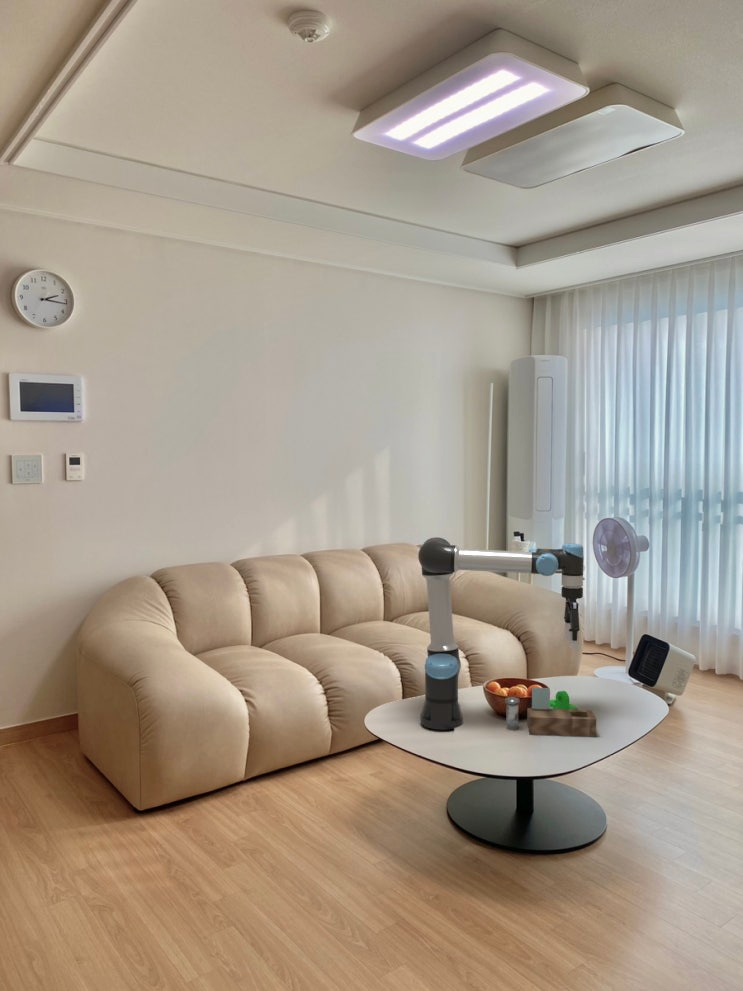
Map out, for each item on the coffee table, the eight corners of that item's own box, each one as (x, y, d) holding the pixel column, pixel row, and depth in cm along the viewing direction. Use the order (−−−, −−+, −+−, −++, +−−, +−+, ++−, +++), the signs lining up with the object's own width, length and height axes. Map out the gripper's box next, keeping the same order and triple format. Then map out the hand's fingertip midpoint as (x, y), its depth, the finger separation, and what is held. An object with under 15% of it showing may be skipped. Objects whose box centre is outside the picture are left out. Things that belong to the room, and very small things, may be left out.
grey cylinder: (505, 730, 272) (505, 701, 271) (504, 725, 277) (505, 696, 276) (519, 730, 271) (519, 701, 271) (518, 725, 276) (518, 697, 276)
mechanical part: (578, 713, 291) (578, 691, 291) (564, 715, 289) (564, 693, 288) (558, 704, 302) (558, 683, 302) (545, 705, 300) (545, 685, 299)
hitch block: (529, 734, 268) (529, 717, 267) (527, 724, 277) (527, 708, 277) (596, 737, 265) (596, 719, 265) (591, 727, 275) (591, 710, 275)
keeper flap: (531, 709, 275) (531, 687, 275) (531, 709, 276) (531, 687, 276) (550, 710, 274) (550, 688, 274) (550, 710, 275) (550, 688, 275)
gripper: (588, 592, 272) (587, 653, 273) (577, 581, 297) (576, 637, 298) (566, 592, 273) (565, 652, 274) (557, 581, 298) (556, 636, 299)
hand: (571, 645), depth 286 cm, fingers open, 13 cm apart
